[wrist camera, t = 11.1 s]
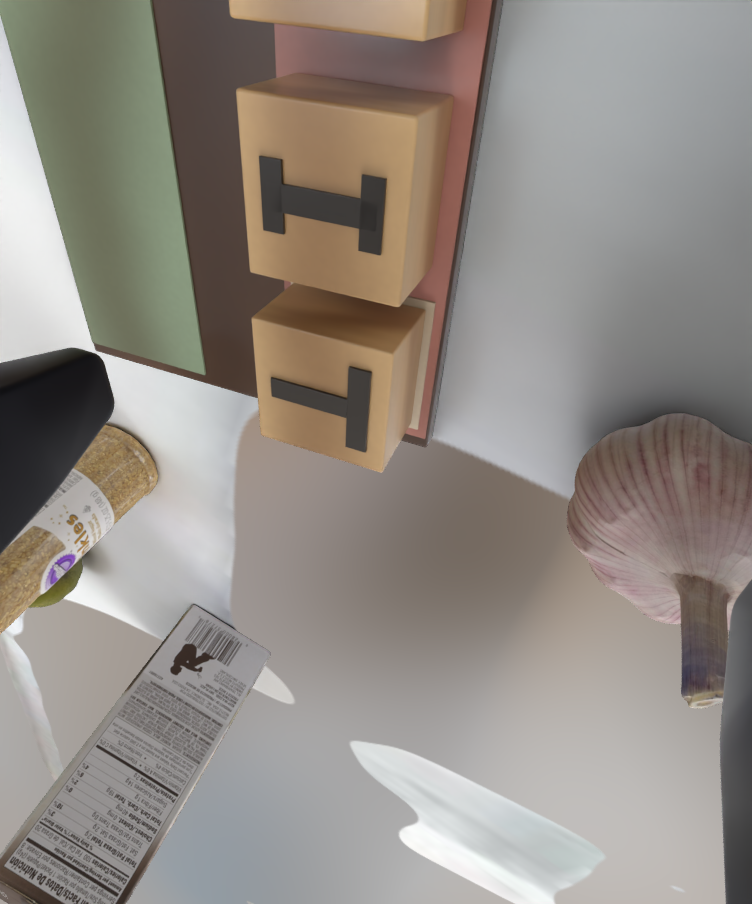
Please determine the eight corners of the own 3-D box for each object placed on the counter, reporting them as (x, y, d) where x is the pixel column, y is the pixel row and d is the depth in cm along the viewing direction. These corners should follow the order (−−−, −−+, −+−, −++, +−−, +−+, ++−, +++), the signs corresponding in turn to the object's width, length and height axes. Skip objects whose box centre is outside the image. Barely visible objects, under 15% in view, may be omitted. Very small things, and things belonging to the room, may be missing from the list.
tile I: (455, 95, 15) (416, 117, 13) (432, 267, 18) (398, 311, 15) (294, 71, 16) (231, 88, 14) (297, 238, 19) (246, 274, 16)
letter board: (627, -759, 8) (623, -829, 8) (432, 436, 23) (424, 452, 22) (-142, -607, 12) (-194, -643, 11) (107, 342, 26) (91, 353, 26)
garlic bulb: (815, 570, 20) (875, 812, 14) (589, 562, 24) (563, 754, 18) (828, 376, 16) (917, 598, 10) (557, 401, 20) (511, 578, 14)
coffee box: (244, 698, 44) (91, 959, 33) (171, 653, 44) (-9, 898, 33) (276, 652, 38) (101, 954, 26) (190, 600, 38) (-23, 879, 26)
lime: (95, 574, 41) (39, 632, 37) (35, 534, 41) (-27, 589, 37) (104, 545, 38) (44, 605, 34) (40, 501, 37) (-27, 558, 34)
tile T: (426, 309, 18) (392, 355, 16) (411, 423, 21) (381, 476, 19) (297, 278, 20) (249, 318, 17) (300, 391, 22) (258, 437, 20)
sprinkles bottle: (166, 499, 32) (-54, 729, 22) (97, 473, 33) (-142, 682, 23) (154, 435, 29) (-107, 668, 19) (78, 408, 30) (-207, 617, 20)
